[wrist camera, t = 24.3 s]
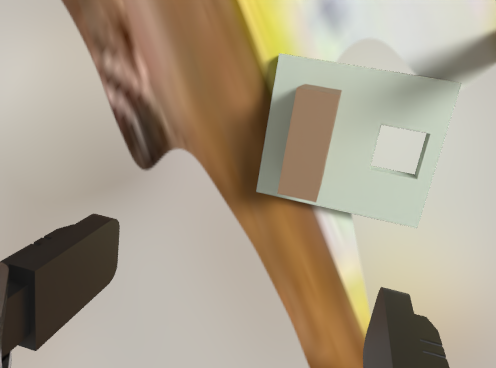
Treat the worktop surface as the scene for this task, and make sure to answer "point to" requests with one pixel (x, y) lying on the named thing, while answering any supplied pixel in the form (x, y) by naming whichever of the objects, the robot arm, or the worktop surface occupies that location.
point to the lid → (351, 136)
